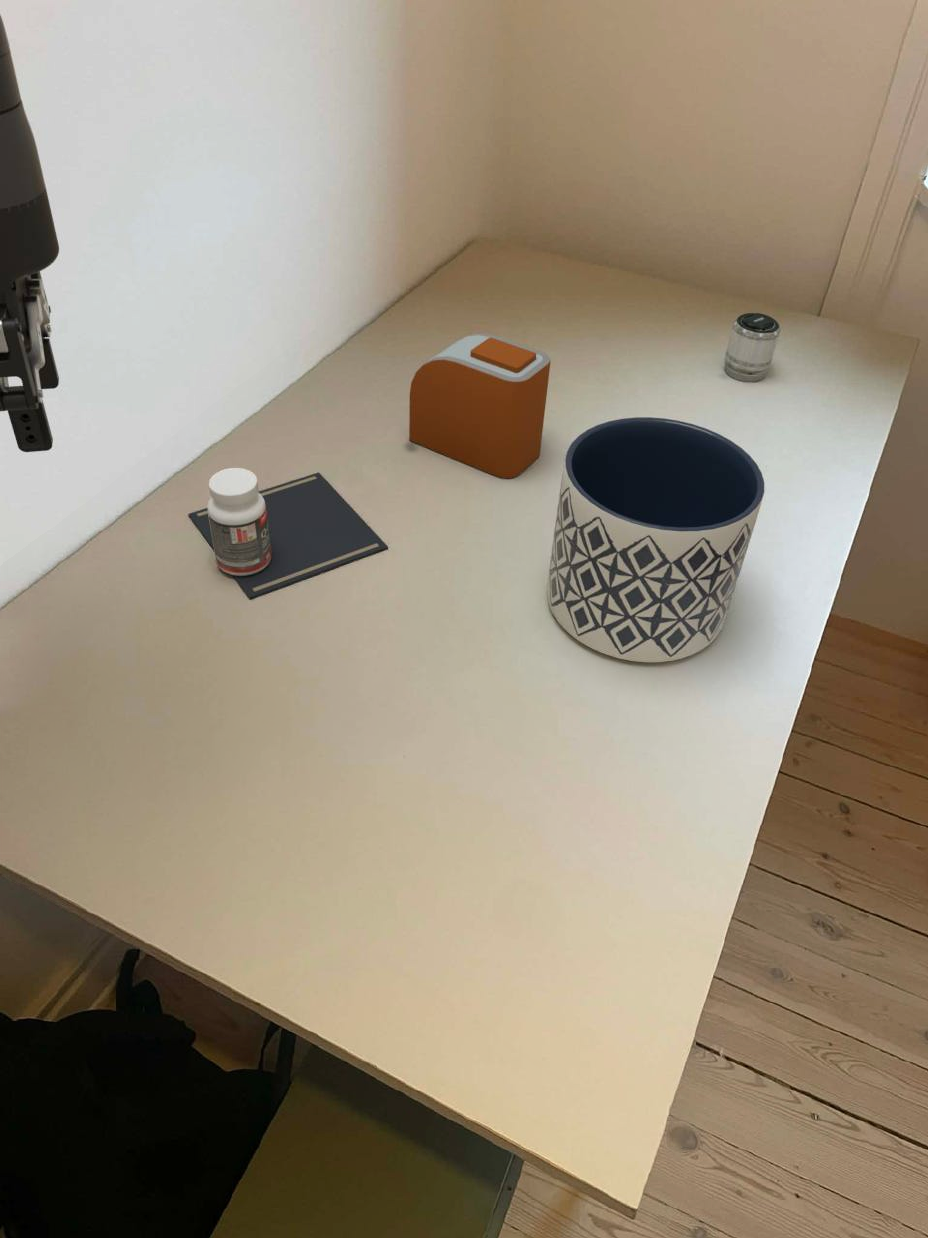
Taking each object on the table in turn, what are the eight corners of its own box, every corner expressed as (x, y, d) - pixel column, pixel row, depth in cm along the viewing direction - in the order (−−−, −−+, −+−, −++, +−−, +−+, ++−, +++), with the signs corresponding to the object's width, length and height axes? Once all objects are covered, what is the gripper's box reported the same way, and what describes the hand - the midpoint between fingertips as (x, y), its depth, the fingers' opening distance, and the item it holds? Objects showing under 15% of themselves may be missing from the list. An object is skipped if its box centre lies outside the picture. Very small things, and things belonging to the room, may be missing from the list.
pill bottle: (279, 569, 100) (270, 491, 93) (224, 583, 98) (211, 504, 91) (262, 537, 104) (253, 459, 97) (210, 550, 102) (196, 471, 95)
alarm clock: (547, 451, 119) (559, 349, 110) (511, 483, 114) (520, 379, 104) (447, 412, 125) (451, 312, 115) (408, 440, 119) (409, 338, 110)
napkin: (249, 599, 97) (249, 597, 97) (188, 515, 106) (187, 513, 106) (388, 548, 104) (388, 546, 104) (319, 474, 113) (318, 471, 113)
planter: (743, 581, 102) (785, 449, 91) (694, 692, 90) (736, 556, 79) (583, 528, 108) (604, 398, 97) (517, 627, 96) (533, 490, 84)
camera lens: (712, 369, 136) (725, 316, 131) (740, 356, 139) (753, 304, 134) (749, 388, 133) (763, 334, 127) (776, 374, 136) (791, 321, 130)
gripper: (-72, 146, 63) (-5, 372, 74) (-110, 230, 53) (-27, 477, 64) (50, 144, 65) (98, 365, 76) (36, 225, 55) (93, 467, 66)
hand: (41, 416), depth 70 cm, fingers open, 8 cm apart
